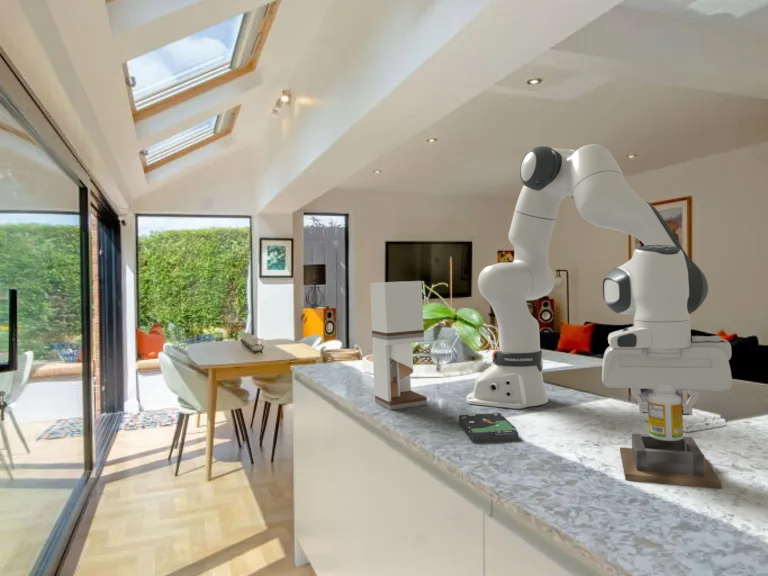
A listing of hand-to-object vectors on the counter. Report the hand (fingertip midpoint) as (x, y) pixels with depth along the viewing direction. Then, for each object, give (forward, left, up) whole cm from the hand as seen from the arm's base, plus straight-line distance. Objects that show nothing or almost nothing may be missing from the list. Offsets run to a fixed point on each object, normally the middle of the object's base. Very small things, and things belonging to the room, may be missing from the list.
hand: (664, 413), depth 91 cm
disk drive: (-35, +15, -11) cm, 39 cm away
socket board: (0, 0, -10) cm, 10 cm away
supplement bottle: (0, 0, -4) cm, 4 cm away
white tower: (-63, +36, -10) cm, 73 cm away
